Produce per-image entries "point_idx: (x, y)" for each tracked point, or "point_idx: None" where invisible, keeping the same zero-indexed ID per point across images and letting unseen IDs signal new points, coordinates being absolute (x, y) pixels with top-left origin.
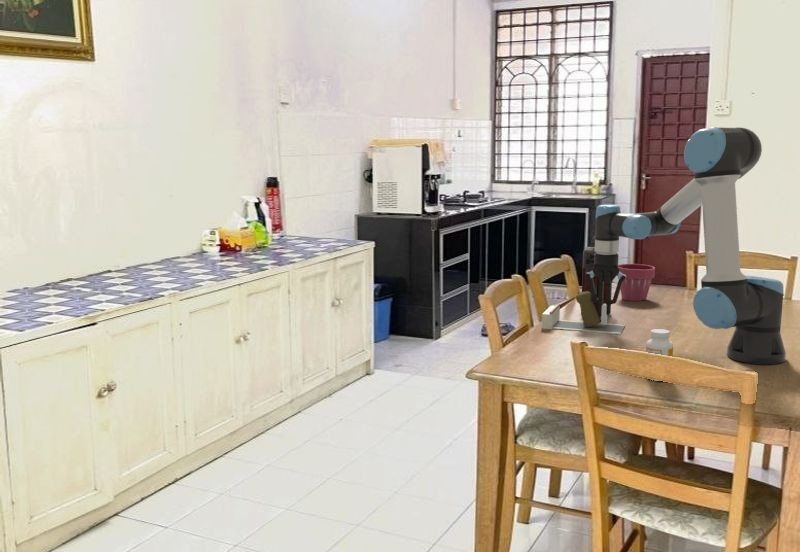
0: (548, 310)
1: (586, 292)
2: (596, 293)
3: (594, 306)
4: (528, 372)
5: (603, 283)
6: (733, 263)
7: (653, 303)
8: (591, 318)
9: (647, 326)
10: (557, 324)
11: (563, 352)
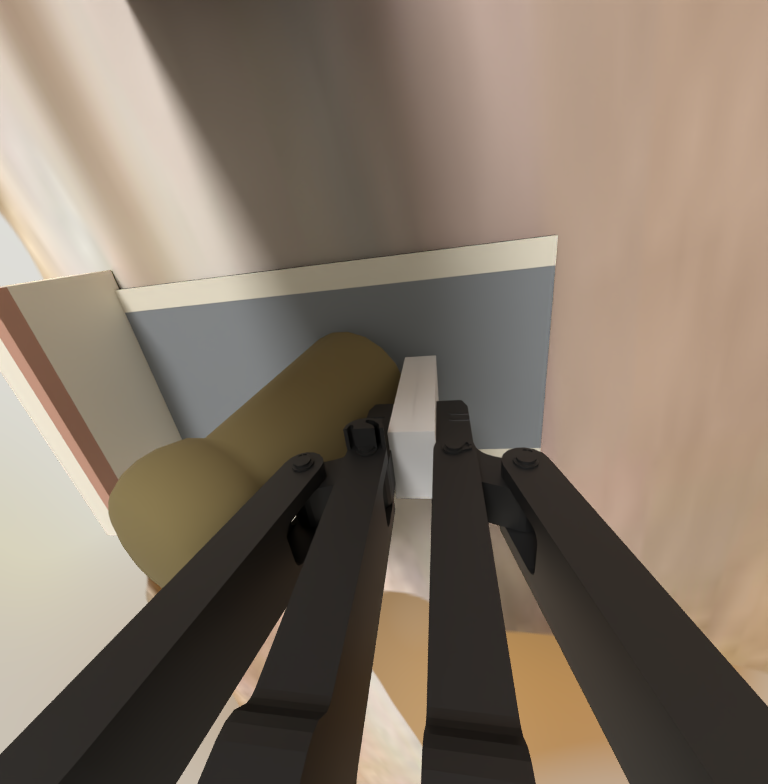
0: (67, 454)
1: None
2: (281, 516)
3: (328, 457)
4: (365, 777)
5: (338, 743)
6: None
7: None
8: None
9: (764, 149)
10: (176, 399)
11: (379, 687)
